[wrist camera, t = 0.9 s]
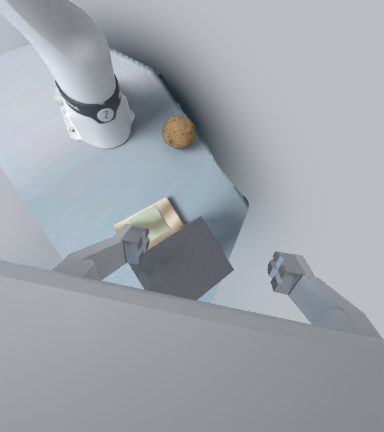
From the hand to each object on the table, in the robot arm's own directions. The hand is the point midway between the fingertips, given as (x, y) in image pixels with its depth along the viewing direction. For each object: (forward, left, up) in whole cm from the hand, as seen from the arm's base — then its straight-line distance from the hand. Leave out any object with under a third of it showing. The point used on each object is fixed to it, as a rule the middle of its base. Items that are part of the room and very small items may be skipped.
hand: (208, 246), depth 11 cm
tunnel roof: (+5, 0, -36) cm, 36 cm away
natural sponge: (-25, +20, -38) cm, 50 cm away
